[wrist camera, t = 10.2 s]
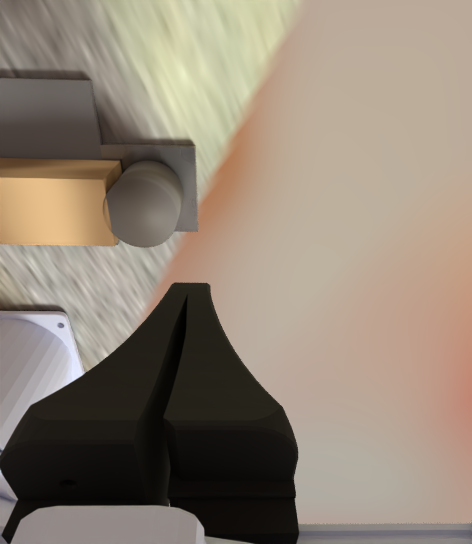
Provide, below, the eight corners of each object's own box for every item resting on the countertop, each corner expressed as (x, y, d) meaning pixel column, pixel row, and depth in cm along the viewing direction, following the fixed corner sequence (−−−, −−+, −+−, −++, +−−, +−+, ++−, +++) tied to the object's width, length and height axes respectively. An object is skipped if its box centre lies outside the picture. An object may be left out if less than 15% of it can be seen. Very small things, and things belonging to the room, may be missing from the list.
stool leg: (182, 161, 19) (174, 180, 16) (185, 222, 21) (179, 248, 18) (-131, 153, 19) (-189, 172, 16) (-97, 217, 21) (-144, 242, 18)
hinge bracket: (198, 228, 22) (197, 231, 22) (116, 227, 22) (115, 230, 21) (195, 145, 19) (194, 147, 19) (102, 143, 19) (100, 144, 19)
